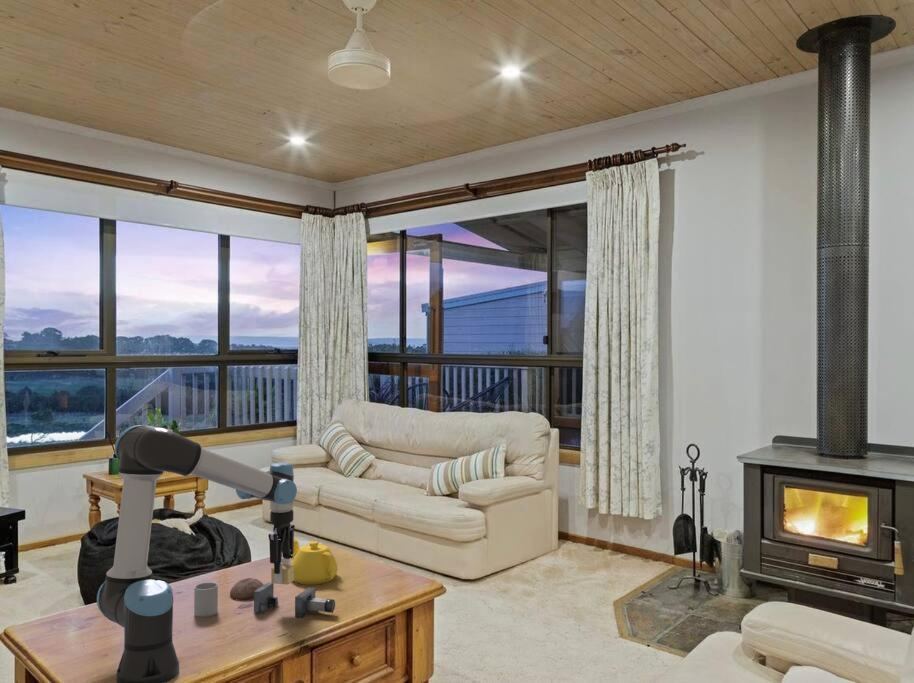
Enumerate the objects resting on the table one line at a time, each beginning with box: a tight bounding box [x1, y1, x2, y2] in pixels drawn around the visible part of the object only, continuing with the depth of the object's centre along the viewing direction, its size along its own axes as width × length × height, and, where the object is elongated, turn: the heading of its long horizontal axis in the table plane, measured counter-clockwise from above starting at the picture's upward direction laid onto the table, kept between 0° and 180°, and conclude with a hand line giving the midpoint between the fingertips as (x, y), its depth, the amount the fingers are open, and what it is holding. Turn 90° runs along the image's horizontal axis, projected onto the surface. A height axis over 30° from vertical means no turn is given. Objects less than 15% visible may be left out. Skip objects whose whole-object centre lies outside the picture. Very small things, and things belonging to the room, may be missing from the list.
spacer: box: [270, 564, 295, 585], centre depth 228 cm, size 4×6×5 cm, turn 75°
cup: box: [193, 581, 219, 618], centre depth 226 cm, size 7×10×9 cm
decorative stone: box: [229, 577, 264, 601], centre depth 243 cm, size 12×12×6 cm
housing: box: [253, 582, 316, 619], centre depth 228 cm, size 18×9×7 cm, turn 75°
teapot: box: [290, 537, 339, 586], centre depth 262 cm, size 25×18×14 cm
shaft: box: [306, 597, 336, 614], centre depth 225 cm, size 12×4×4 cm, turn 75°
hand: (282, 580), depth 228 cm, fingers closed on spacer, 4 cm apart
